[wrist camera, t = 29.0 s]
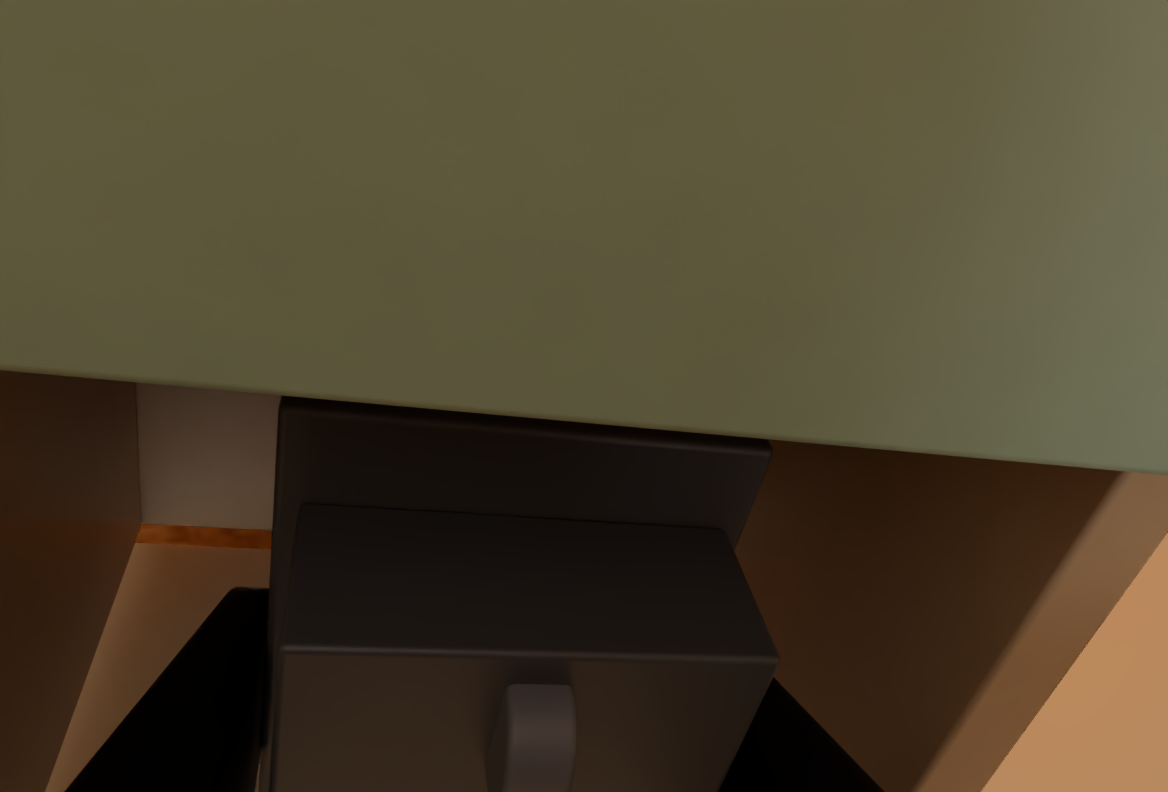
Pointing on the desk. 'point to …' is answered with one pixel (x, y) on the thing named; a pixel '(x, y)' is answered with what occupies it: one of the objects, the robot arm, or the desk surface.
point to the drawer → (764, 550)
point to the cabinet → (608, 212)
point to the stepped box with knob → (506, 604)
